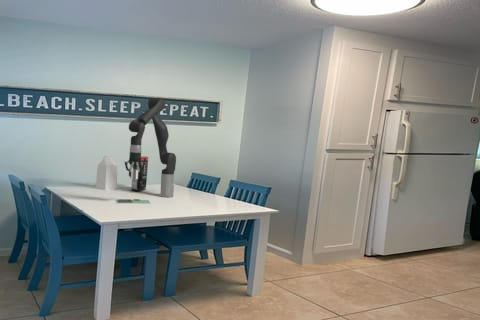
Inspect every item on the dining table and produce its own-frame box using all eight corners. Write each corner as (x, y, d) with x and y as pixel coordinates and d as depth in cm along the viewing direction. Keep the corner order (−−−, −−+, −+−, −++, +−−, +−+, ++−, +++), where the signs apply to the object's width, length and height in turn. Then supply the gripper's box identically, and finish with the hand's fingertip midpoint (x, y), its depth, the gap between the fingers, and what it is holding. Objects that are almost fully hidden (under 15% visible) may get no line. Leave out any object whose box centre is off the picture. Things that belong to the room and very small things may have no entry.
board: (147, 201, 316) (148, 198, 316) (150, 204, 302) (150, 202, 302) (115, 201, 308) (115, 198, 308) (116, 204, 295) (116, 201, 295)
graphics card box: (138, 188, 374) (140, 155, 372) (146, 189, 373) (148, 156, 371) (131, 191, 357) (132, 156, 355) (139, 192, 356) (141, 157, 354)
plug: (137, 178, 306) (137, 169, 306) (137, 179, 303) (138, 169, 302) (130, 178, 305) (130, 168, 305) (131, 178, 301) (131, 169, 301)
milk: (105, 190, 355) (106, 157, 353) (95, 188, 361) (97, 155, 359) (117, 189, 365) (118, 156, 363) (107, 187, 371) (108, 155, 369)
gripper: (145, 151, 309) (144, 176, 310) (124, 150, 304) (122, 176, 305) (147, 152, 302) (145, 178, 303) (125, 151, 297) (123, 177, 298)
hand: (134, 177), depth 304 cm, fingers closed on plug, 4 cm apart
